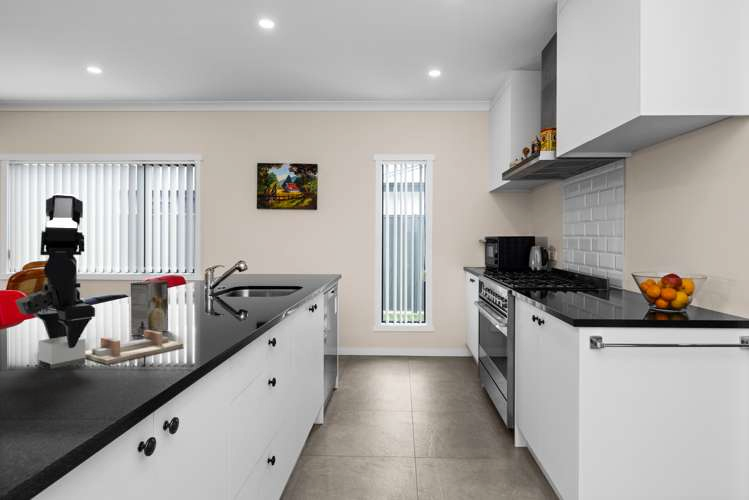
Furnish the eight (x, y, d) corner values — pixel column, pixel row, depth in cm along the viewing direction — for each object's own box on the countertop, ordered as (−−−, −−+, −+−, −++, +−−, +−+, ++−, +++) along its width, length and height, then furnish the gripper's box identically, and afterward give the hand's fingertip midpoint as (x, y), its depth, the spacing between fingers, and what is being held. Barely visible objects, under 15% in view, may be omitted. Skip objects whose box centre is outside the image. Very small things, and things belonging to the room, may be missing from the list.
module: (38, 364, 103) (38, 340, 103) (71, 357, 109) (71, 335, 109) (51, 368, 100) (51, 344, 100) (85, 361, 106) (85, 338, 105)
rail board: (77, 355, 111) (77, 338, 111) (153, 340, 128) (153, 326, 128) (106, 364, 103) (106, 346, 103) (183, 347, 120) (183, 332, 120)
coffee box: (151, 329, 142) (151, 280, 142) (168, 330, 141) (168, 280, 141) (130, 335, 133) (130, 282, 133) (148, 337, 132) (148, 283, 132)
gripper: (3, 279, 102) (4, 346, 102) (39, 284, 92) (40, 358, 93) (58, 276, 111) (58, 337, 112) (96, 280, 102) (96, 348, 102)
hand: (62, 345), depth 104 cm, fingers open, 9 cm apart
